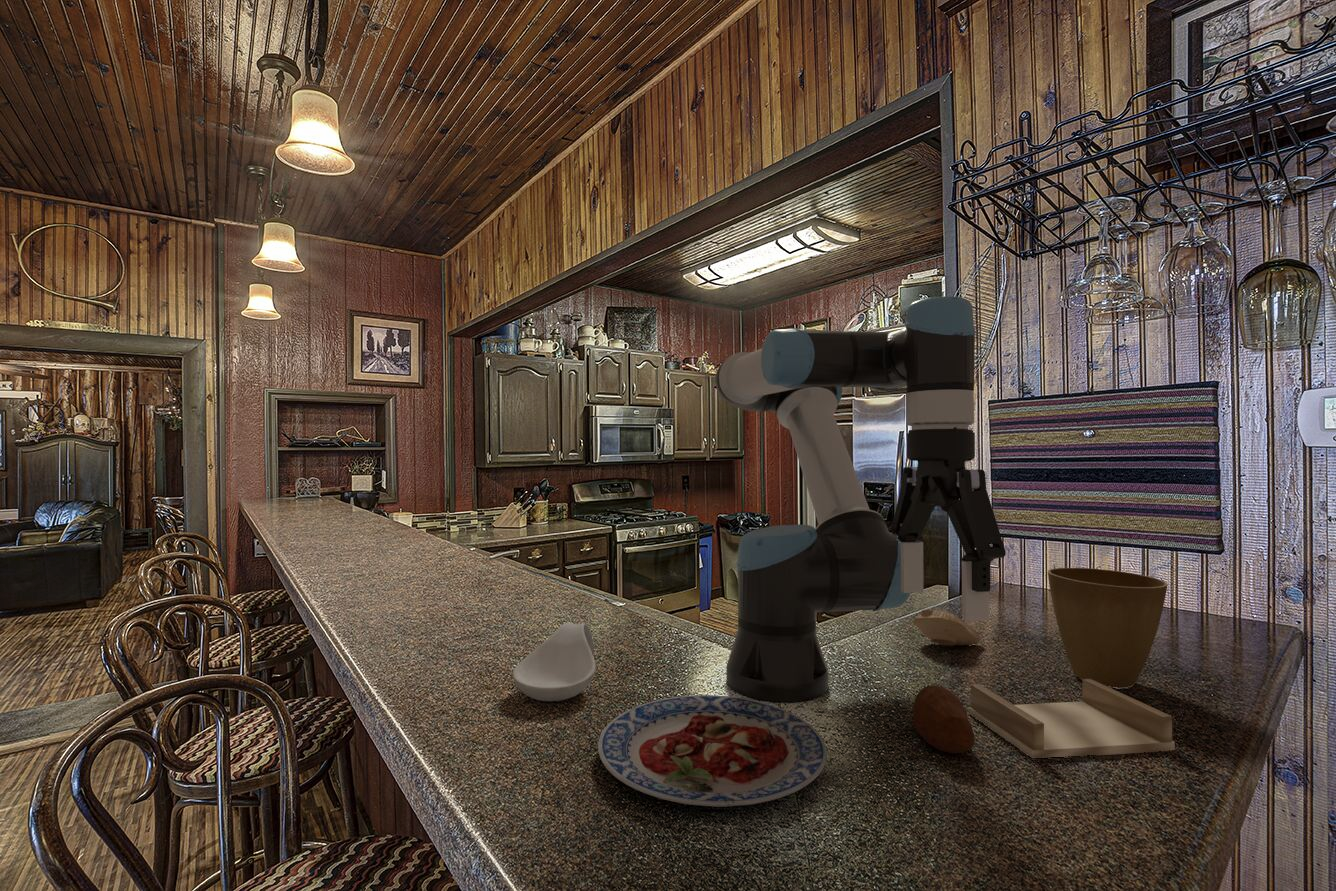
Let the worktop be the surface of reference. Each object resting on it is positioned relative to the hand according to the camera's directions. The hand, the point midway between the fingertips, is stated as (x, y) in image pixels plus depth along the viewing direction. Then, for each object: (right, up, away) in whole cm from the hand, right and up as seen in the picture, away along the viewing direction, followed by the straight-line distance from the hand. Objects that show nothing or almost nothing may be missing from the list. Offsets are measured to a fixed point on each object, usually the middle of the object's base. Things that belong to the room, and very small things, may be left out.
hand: (941, 605), depth 74 cm
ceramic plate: (-28, -17, -3) cm, 33 cm away
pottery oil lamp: (+17, -17, +36) cm, 44 cm away
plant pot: (+34, -17, +20) cm, 43 cm away
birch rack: (+17, -17, +3) cm, 24 cm away
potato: (0, -17, 0) cm, 17 cm away
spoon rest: (-49, -17, +21) cm, 56 cm away
